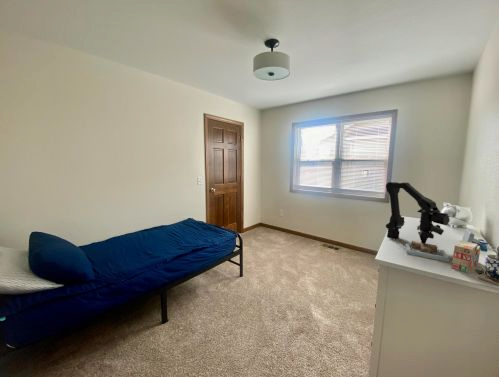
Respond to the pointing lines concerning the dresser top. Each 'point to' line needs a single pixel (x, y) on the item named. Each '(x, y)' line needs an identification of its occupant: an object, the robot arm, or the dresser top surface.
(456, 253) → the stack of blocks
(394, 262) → the dresser top surface
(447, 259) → the dock
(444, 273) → the dresser top surface
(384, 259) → the dresser top surface
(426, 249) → the t block
